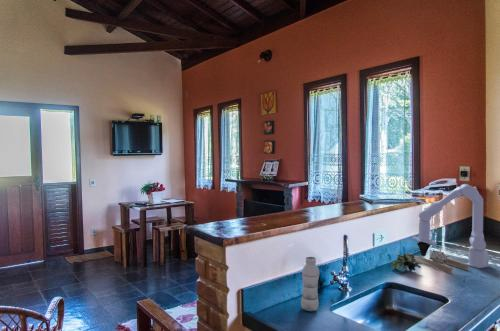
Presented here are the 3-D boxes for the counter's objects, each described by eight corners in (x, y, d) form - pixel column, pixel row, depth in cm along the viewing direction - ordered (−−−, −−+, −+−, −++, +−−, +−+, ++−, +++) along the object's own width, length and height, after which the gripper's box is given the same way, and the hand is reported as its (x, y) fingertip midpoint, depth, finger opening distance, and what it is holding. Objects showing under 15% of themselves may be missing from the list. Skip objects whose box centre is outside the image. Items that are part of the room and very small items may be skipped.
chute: (431, 258, 209) (431, 253, 209) (468, 270, 189) (468, 264, 189) (414, 261, 204) (414, 255, 204) (450, 273, 184) (450, 267, 184)
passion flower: (409, 280, 188) (425, 264, 184) (401, 282, 180) (417, 265, 176) (393, 264, 195) (408, 248, 191) (384, 264, 187) (400, 248, 183)
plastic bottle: (299, 306, 143) (300, 255, 142) (316, 305, 143) (317, 255, 142) (302, 313, 136) (303, 260, 135) (320, 313, 137) (321, 260, 136)
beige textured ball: (442, 272, 196) (452, 261, 190) (426, 265, 198) (436, 254, 192) (441, 260, 203) (451, 249, 197) (426, 254, 205) (435, 242, 198)
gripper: (408, 229, 210) (407, 253, 211) (430, 235, 197) (429, 260, 198) (417, 228, 213) (416, 251, 214) (439, 234, 200) (438, 258, 201)
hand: (423, 255), depth 206 cm, fingers closed
